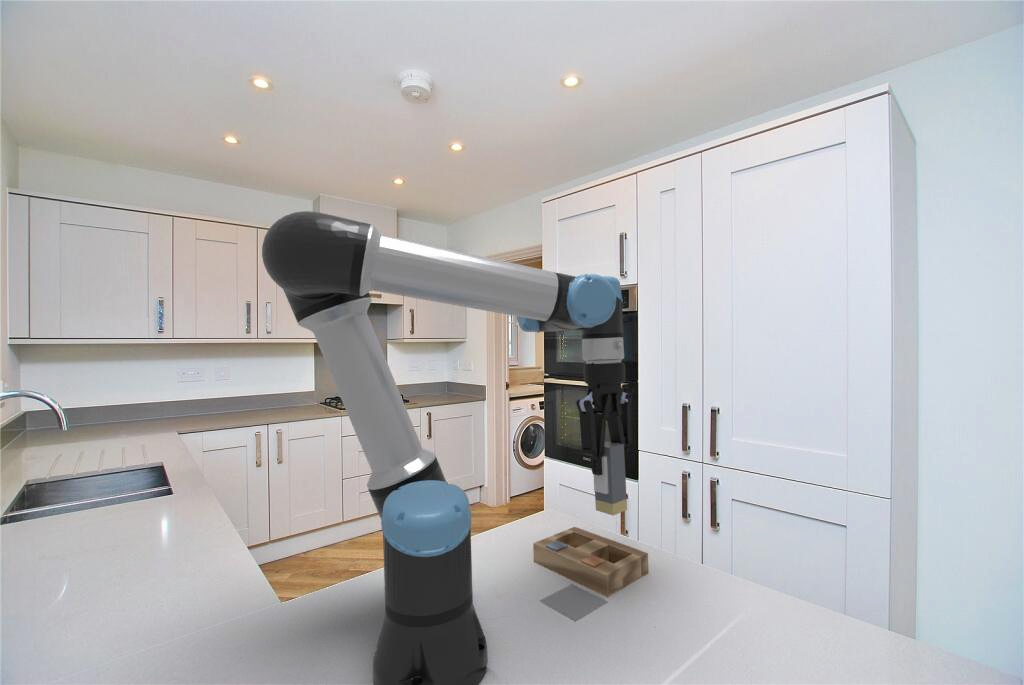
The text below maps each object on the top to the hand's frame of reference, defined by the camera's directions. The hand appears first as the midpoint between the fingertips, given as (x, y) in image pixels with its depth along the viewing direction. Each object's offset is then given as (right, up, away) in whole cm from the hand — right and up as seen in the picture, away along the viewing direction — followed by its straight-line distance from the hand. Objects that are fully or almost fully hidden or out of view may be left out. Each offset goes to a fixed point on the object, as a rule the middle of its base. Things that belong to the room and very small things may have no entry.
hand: (609, 488), depth 86 cm
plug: (0, -4, 0) cm, 4 cm away
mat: (-8, -16, -9) cm, 20 cm away
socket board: (-3, -16, +3) cm, 17 cm away
